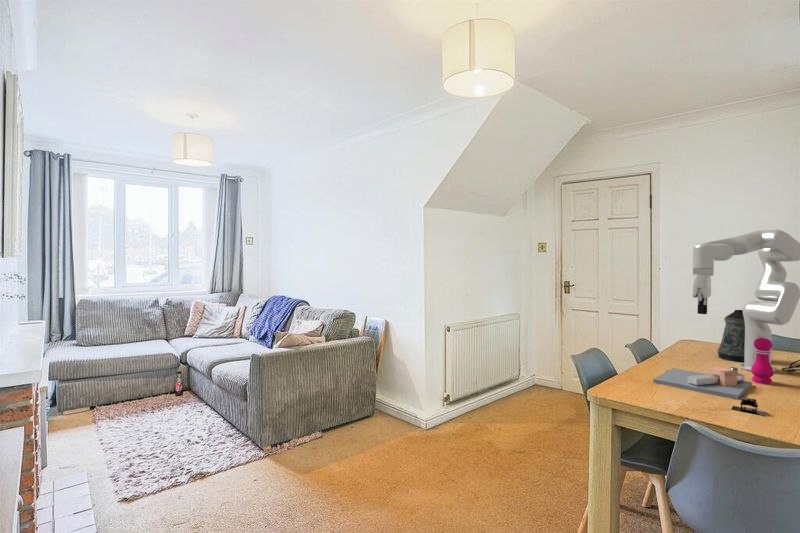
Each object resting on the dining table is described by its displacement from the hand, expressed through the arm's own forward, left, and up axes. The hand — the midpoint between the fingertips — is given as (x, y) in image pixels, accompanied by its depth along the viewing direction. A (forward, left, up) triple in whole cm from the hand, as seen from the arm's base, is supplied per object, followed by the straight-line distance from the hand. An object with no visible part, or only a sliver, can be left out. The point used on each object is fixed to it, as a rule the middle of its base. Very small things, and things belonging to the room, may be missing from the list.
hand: (702, 313), depth 189 cm
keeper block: (+15, +10, -27) cm, 32 cm away
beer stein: (-50, +5, -27) cm, 57 cm away
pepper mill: (-6, +20, -27) cm, 34 cm away
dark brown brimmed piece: (+41, +23, -28) cm, 54 cm away
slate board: (+16, +4, -27) cm, 32 cm away
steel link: (+16, +9, -25) cm, 31 cm away
